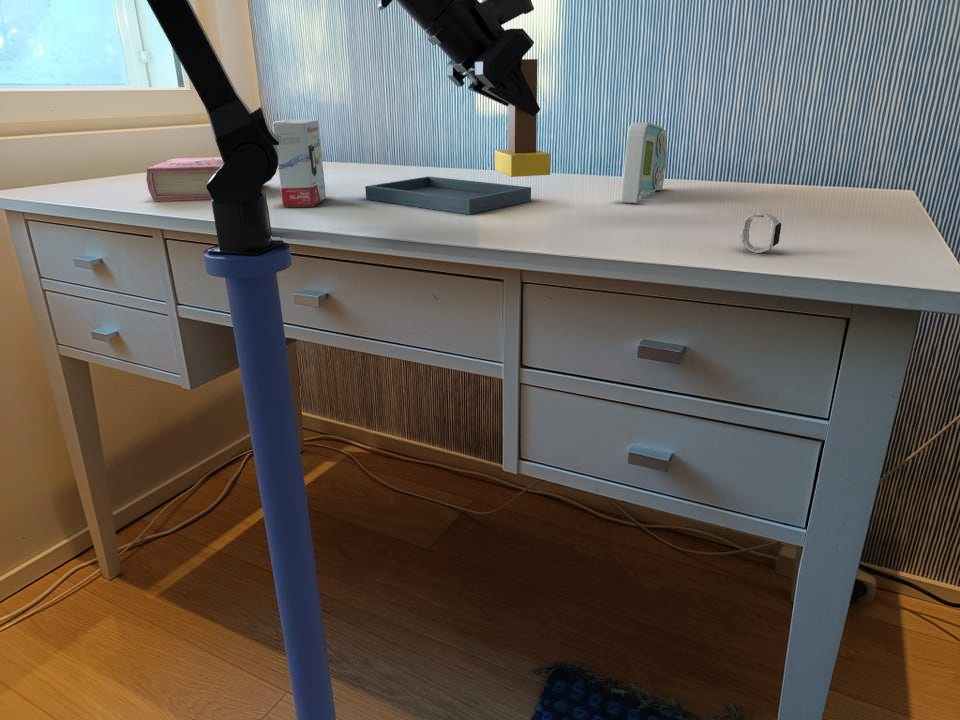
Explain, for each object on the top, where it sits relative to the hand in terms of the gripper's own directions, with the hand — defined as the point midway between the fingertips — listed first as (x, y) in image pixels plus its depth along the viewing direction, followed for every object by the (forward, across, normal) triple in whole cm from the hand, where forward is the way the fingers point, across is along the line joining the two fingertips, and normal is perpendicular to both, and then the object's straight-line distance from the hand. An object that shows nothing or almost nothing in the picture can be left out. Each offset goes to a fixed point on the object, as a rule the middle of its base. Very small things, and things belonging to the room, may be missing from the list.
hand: (533, 112), depth 84 cm
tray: (+4, +19, +14) cm, 24 cm away
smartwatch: (+21, -24, -2) cm, 32 cm away
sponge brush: (+4, 0, +6) cm, 7 cm away
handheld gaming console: (+25, +12, -6) cm, 29 cm away
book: (-21, +40, +40) cm, 61 cm away
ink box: (-10, +24, +29) cm, 39 cm away
